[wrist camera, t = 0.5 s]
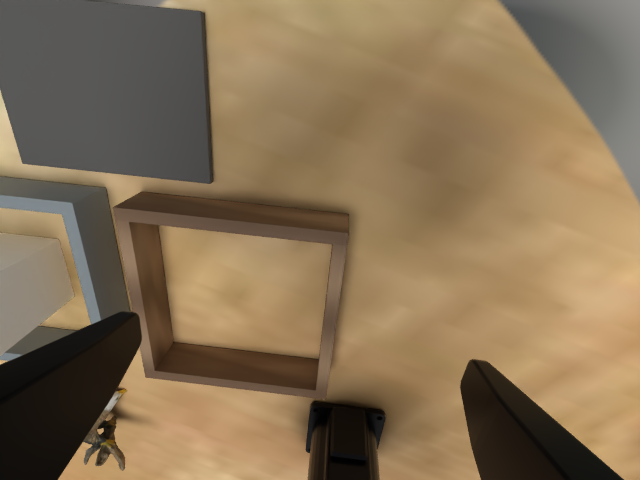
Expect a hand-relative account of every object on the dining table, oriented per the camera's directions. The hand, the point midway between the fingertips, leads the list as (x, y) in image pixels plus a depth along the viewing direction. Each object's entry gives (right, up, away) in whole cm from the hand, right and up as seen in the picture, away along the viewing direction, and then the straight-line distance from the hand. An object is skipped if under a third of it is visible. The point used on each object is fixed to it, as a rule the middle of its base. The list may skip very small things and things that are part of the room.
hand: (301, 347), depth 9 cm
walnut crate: (-5, -1, +16) cm, 16 cm away
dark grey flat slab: (-12, +11, +10) cm, 19 cm away
